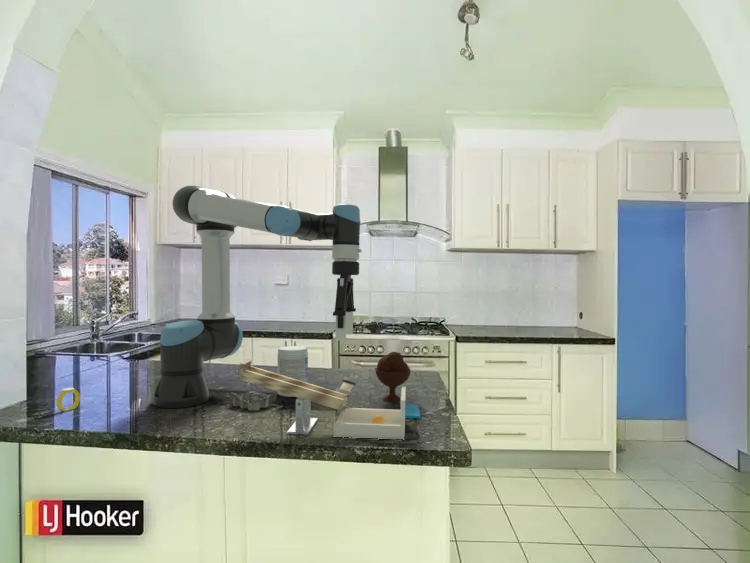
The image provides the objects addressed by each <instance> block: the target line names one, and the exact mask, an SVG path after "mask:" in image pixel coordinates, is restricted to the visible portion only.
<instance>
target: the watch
mask: <svg viewBox="0 0 750 563" xmlns="http://www.w3.org/2000/svg"><path fill="white" fill-rule="evenodd" d="M67 393H73V394H74V397H75V399H74V402H73V404H72V405H71V406H70V407H69V408H65V409H64V408H63V405H62V400H63V398H64V396H65V395H66V394H67ZM80 399H81V396H80V393H79V391H78V390H77V389H75V388H74V387H65V388H62V390H61V392H59V394H58V396H57V398H56V407H57V409H58V410H59V411H60V412H63V413H64V412H66V413H67V412H69V411H71V410H75V409H76V408H77V407H78V405H79V403H80V401H81V400H80Z"/></svg>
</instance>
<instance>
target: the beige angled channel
mask: <svg viewBox="0 0 750 563" xmlns="http://www.w3.org/2000/svg"><path fill="white" fill-rule="evenodd" d="M252 362H253V361H252V360H251V359H246V360H244V361H242V362H241V363H240V365H239V368H238V372H237V374H238V376H239V375H240V381H243V382H246V383H249V384H253V385H256V386H259V387H262V388H266V389H269V390H272V391H276V392H277V393H278V392H282V393H285V394H288V395H292V396H295V397H294V398H304V399H305V400H308V401H311V402H312V403H315V404H319V405H322V406H325V407H328V408H330V409H331V408H332V409H335V410H338V411H343V410H342V409H343V408H344V407H345V404H346V403H347V400H348V399H349V398H350V397H351V395H352V391H353V389H354V387H355V386H356V385H357V383H358V380H357V379H354V378H350V377H347V376H344V377H343V378H342V382H343V383H342V384H341V385H340V387H336V389H335V390H332V389H330V388H329V389H328V388H326V387H322V386H321V385H319V386H318V385H315V384H312V383H309V382H308V383H306V382H303V381H300V380H296V379H293V378H290V377H286V376H283V375H280V374H278V373H277V372H273V371H270V370H265V369H262V368H259V367H255V366H252Z"/></svg>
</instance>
